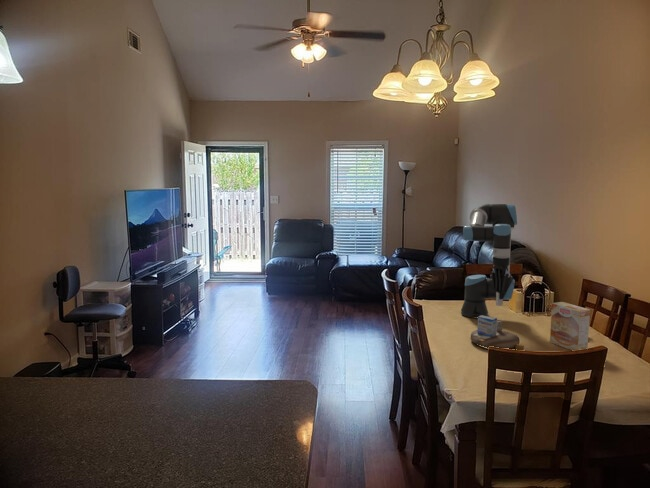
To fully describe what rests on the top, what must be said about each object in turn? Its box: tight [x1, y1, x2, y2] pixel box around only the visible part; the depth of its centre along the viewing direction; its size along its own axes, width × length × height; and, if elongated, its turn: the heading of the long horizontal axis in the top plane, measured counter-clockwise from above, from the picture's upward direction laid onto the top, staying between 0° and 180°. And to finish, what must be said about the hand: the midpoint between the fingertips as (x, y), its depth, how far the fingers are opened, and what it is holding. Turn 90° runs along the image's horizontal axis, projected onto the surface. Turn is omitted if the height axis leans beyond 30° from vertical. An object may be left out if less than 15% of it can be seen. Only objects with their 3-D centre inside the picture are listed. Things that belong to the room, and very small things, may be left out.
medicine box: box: [476, 315, 498, 337], centre depth 218 cm, size 8×4×9 cm, turn 45°
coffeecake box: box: [549, 301, 591, 351], centre depth 211 cm, size 15×7×20 cm, turn 23°
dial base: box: [487, 343, 525, 351], centre depth 215 cm, size 24×19×3 cm
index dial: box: [470, 320, 521, 349], centre depth 216 cm, size 22×22×7 cm
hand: (499, 305), depth 216 cm, fingers closed
